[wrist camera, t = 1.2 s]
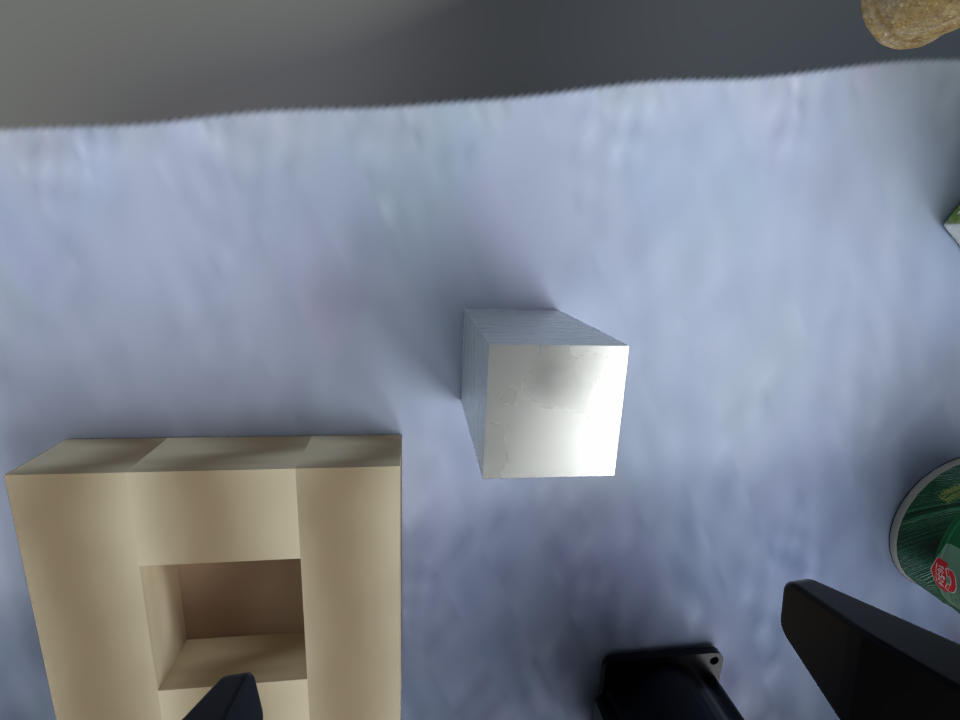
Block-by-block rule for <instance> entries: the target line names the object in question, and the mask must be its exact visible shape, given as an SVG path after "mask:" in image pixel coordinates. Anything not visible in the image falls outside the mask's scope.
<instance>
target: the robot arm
mask: <svg viewBox="0 0 960 720" xmlns="http://www.w3.org/2000/svg"><path fill="white" fill-rule="evenodd" d="M781 625H782V628H783V631H784V633H785V635H786V637H787V639H788V640H789V642H790V643H791V645H792V646H793V648H794V649H795V651H796V653H797V654H798V656H799V657H800V659H801V660H802V662H803V663H804V665H805V666H806V668H807V670H808V671H809V673H810V674H811V676H812V677H813V679H814V680H815V682H816V683H817V685H818V687H819V688H820V690H821V691H822V693H823V694H824V696H825V697H826V699H827V700H828V702H829V703H830V705H831V707H832V708H833V710H834V711H835V713H836V714H837V716H838V717H839V719H840V720H960V644H957V643H955V642H953V641H951V640H948V639H946V638H944V637H942V636H939V635H937V634H935V633H932V632H930V631H928V630H926V629H923V628H921V627H919V626H917V625H914V624H912V623H910V622H908V621H905V620H903V619H901V618H898V617H896V616H894V615H892V614H889V613H887V612H885V611H883V610H880V609H878V608H876V607H874V606H871V605H869V604H867V603H864V602H862V601H860V600H858V599H855V598H853V597H851V596H849V595H846V594H844V593H842V592H840V591H837V590H835V589H833V588H830V587H828V586H826V585H824V584H821V583H819V582H817V581H815V580H811V579H803V580H797V581H791V582H788V583H787V584H786V585H785V587H784V593H783V603H782V612H781ZM722 663H723V656H722V655H721V653H720V652H719V651H718V649H717V648H715V647H702V648H689V649H677V650H664V651H652V652H639V653H627V654H614V655H609V656H607V657H606V658H605V659H604V660H603V663H602V670H601V678H600V686H599V694H598V695H597V697H596V699H595V701H594V710H593V718H592V720H744V718H743V717H742V715H741V714H740V712H739V711H738V710H737V708H736V707H735V705H734V704H733V702H732V701H731V699H730V698H729V696H728V695H727V693H726V692H725V691H724V689H723V688H722V686H721V685H720V683H719V678H720V673H721V668H722ZM182 720H263V710H262V706H261V701H260V697H259V693H258V689H257V685H256V680H255V677H254V675H253V674H252V673H251V672H248V671H247V672H241V673H235V674H229V675H225V676H224V677H222V678H221V679H220V680H219V681H218V682H217V683H216V684H215V685H214V686H213V687H212V688H211V689H210V690H209V691H208V692H207V693H206V694H205V695H204V697H203V698H202V699H201V700H200V701H199V702H198V703H197V704H196V705H195V706H194V707H193V708H192V709H191V710H190V711H189V713H188V714H187V715H186V716H185V717H184V718H183V719H182Z"/></svg>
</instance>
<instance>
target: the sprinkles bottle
mask: <svg viewBox="0 0 960 720" xmlns="http://www.w3.org/2000/svg"><path fill="white" fill-rule="evenodd" d="M860 2H861V12H862V16H863V20H864V22H865V25H866V27H867V29H868V30H869V31H870V32H871V34H872V35H873V36H874V37H875V39H876V40H877V41H878V42H879V43H880V44H882V45H883V46H886V47H890V48H892V49H899V50H904V49H912V48H918V47H921V46H924V45H926V44H928V43H930V42H932V41H934V40H935V39H937V38H939V37H940V36H941V35H943V34H946V33H949V32H951V31H954V30H956V29H959V28H960V0H860Z"/></svg>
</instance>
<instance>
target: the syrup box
mask: <svg viewBox="0 0 960 720" xmlns="http://www.w3.org/2000/svg"><path fill="white" fill-rule="evenodd" d="M944 227H945V228H946V230H947V231H948V232H949V233H950V234H951V236H952V237H953V238H954V239H955V240H956V242H957V243H958V244H959V245H960V205H959V206H958V207H957V208H956V209H955V211H954V212H953V213H952V215H951V216H950V217H949V218H948V220H947V221H946V222H945V224H944Z"/></svg>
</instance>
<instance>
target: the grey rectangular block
mask: <svg viewBox="0 0 960 720" xmlns="http://www.w3.org/2000/svg"><path fill="white" fill-rule="evenodd" d="M628 353H629V346H628V345H626V344H624V343H622V342H620V341H619V340H617V339H615V338H613V337H611V336H609V335H607V334H605V333H603V332H601V331H599V330H597V329H595V328H593V327H591V326H589V325H587V324H585V323H583V322H581V321H579V320H577V319H575V318H573V317H571V316H569V315H567V314H565V313H563V312H561V311H559V310H537V309H491V308H464V317H463V348H462V380H461V403H462V406H463V410H464V414H465V417H466V421H467V424H468V428H469V431H470V435H471V438H472V442H473V445H474V449H475V452H476V456H477V459H478V463H479V466H480V470H481V473H482V477H483V479H498V478H535V477H572V476H610V475H614V473H615V464H616V456H617V447H618V439H619V430H620V422H621V413H622V405H623V396H624V387H625V379H626V370H627V362H628Z"/></svg>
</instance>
